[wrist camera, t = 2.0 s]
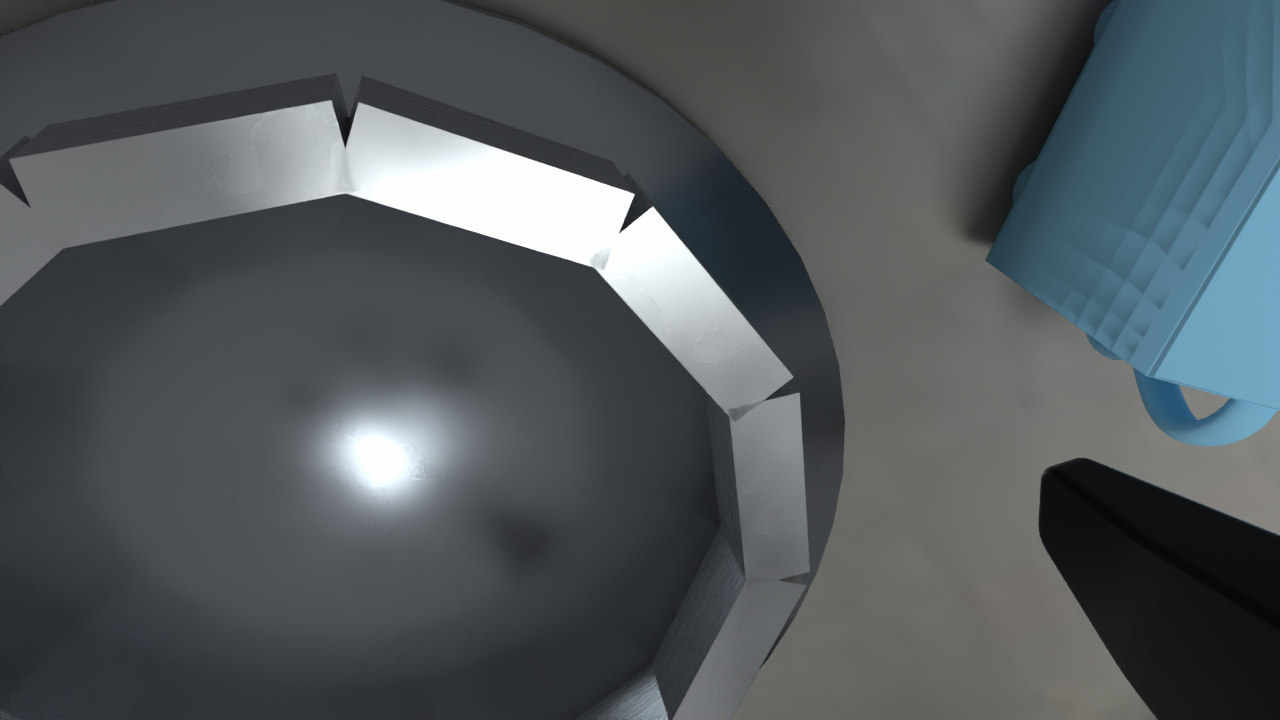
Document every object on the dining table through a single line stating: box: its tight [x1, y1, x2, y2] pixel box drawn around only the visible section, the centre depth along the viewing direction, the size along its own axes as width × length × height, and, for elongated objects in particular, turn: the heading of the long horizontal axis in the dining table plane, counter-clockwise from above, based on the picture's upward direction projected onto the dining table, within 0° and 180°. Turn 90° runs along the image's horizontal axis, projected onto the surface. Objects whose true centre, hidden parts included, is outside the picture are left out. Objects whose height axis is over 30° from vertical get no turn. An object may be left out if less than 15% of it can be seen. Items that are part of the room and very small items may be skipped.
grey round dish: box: [0, 0, 845, 720], centre depth 21 cm, size 23×23×3 cm
